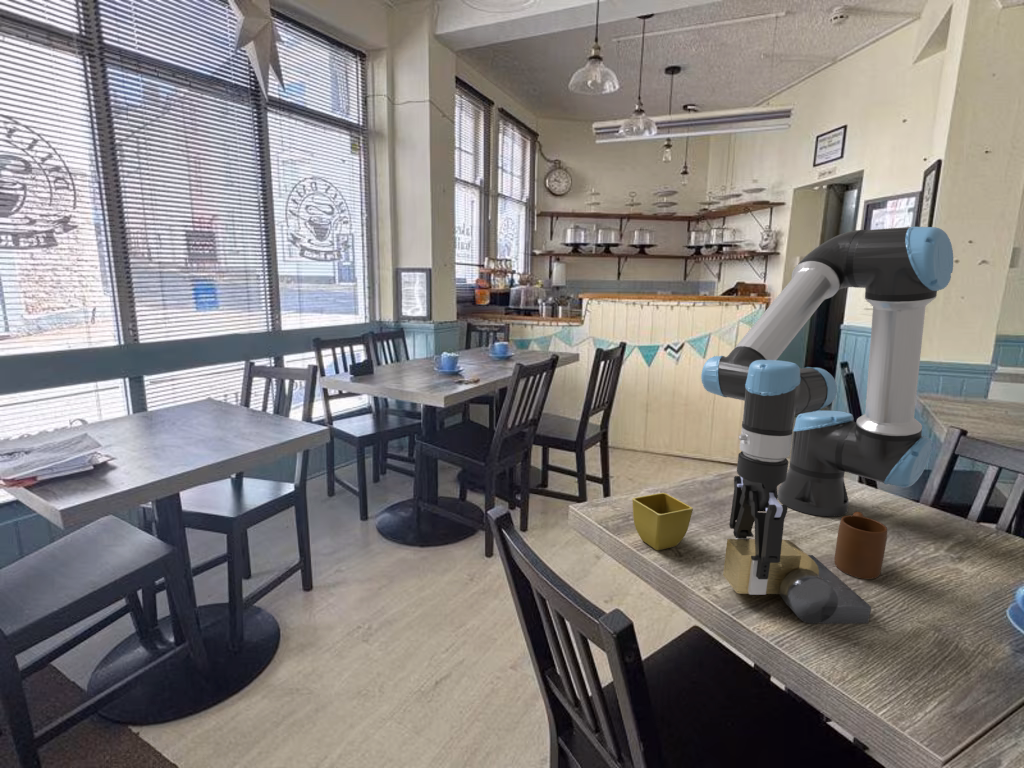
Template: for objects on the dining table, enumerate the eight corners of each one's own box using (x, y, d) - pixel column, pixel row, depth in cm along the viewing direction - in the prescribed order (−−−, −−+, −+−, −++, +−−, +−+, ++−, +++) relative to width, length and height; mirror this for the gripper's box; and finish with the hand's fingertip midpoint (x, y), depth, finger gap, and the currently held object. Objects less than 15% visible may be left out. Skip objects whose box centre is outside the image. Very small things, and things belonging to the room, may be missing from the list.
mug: (829, 546, 111) (836, 503, 109) (873, 554, 107) (880, 511, 106) (835, 574, 100) (842, 527, 98) (883, 584, 97) (892, 536, 95)
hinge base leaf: (810, 569, 101) (815, 535, 100) (868, 623, 86) (874, 583, 84) (745, 569, 101) (749, 535, 100) (791, 623, 85) (797, 583, 84)
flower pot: (661, 530, 116) (664, 491, 114) (690, 549, 108) (694, 507, 106) (628, 538, 112) (631, 498, 111) (656, 558, 105) (659, 515, 103)
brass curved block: (797, 575, 96) (802, 539, 94) (815, 594, 90) (821, 556, 89) (723, 575, 95) (727, 538, 94) (737, 593, 90) (741, 555, 88)
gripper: (717, 437, 97) (705, 555, 101) (769, 474, 79) (751, 616, 83) (758, 438, 97) (744, 555, 102) (819, 475, 79) (799, 616, 84)
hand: (747, 582), depth 92 cm, fingers closed on brass curved block, 6 cm apart
